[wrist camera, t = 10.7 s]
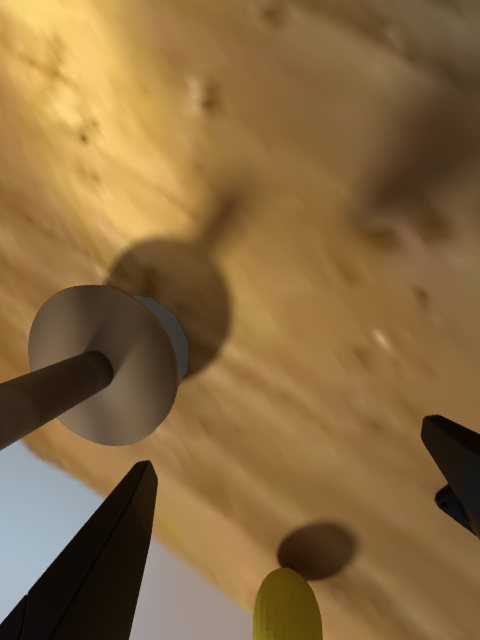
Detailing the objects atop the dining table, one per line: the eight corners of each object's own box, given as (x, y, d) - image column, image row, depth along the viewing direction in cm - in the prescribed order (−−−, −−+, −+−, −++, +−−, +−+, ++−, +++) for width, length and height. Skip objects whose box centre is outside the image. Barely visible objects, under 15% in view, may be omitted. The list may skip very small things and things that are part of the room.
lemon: (259, 582, 25) (242, 715, 18) (261, 537, 24) (244, 659, 17) (316, 599, 24) (324, 750, 17) (321, 553, 23) (332, 691, 16)
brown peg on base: (159, 272, 17) (-138, 272, 5) (191, 440, 19) (21, 706, 7) (20, 296, 20) (-357, 328, 8) (60, 438, 22) (-206, 623, 10)
